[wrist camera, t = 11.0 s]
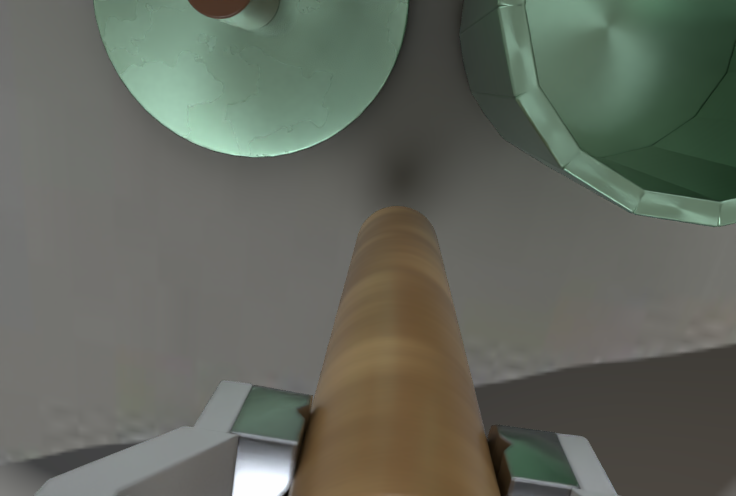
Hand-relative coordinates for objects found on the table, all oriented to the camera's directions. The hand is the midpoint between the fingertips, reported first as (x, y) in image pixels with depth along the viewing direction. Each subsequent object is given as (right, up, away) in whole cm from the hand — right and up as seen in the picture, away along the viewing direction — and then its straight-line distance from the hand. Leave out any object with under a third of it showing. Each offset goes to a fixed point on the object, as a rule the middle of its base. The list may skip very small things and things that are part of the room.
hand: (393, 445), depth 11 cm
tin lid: (-5, +13, +15) cm, 20 cm away
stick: (+1, +3, +13) cm, 14 cm away
